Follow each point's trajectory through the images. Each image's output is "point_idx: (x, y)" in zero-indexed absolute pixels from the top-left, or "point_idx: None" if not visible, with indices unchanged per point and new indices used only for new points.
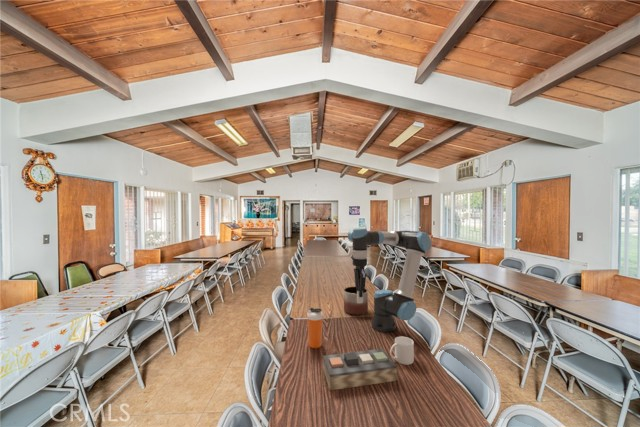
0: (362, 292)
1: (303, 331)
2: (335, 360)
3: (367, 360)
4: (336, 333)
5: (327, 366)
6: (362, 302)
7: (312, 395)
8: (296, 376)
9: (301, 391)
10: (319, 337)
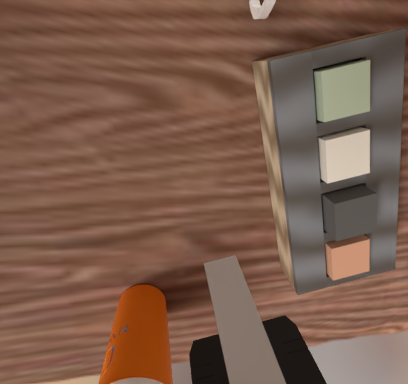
0: (322, 378)
1: (45, 351)
2: (348, 262)
3: (369, 153)
4: (33, 237)
5: (355, 278)
6: (237, 262)
7: (373, 279)
8: (302, 321)
9: (356, 302)
10: (160, 315)
